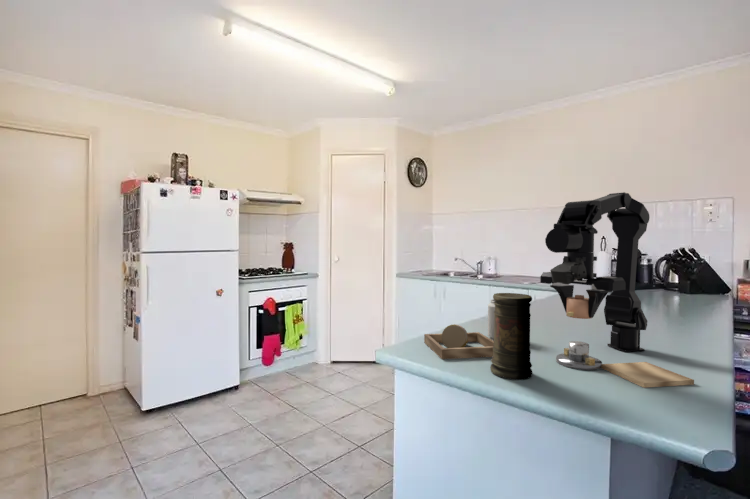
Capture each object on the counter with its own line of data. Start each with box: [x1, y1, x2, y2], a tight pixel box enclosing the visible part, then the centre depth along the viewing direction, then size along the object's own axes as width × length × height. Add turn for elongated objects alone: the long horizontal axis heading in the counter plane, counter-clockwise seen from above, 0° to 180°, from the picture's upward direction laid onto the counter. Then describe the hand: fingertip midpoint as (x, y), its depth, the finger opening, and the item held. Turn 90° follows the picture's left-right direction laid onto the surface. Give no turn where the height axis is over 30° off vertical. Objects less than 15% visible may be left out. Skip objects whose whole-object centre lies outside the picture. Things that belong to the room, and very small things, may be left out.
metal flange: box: [555, 340, 603, 371], centre depth 94 cm, size 10×10×5 cm
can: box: [487, 298, 495, 341], centre depth 118 cm, size 8×8×12 cm
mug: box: [441, 323, 469, 348], centre depth 108 cm, size 8×10×10 cm
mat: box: [601, 361, 695, 389], centre depth 86 cm, size 12×12×1 cm
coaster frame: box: [423, 331, 494, 360], centre depth 107 cm, size 17×16×2 cm
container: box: [490, 292, 533, 381], centre depth 87 cm, size 9×9×18 cm
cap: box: [565, 294, 592, 320], centre depth 94 cm, size 6×8×5 cm
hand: (579, 315), depth 94 cm, fingers closed on cap, 6 cm apart
